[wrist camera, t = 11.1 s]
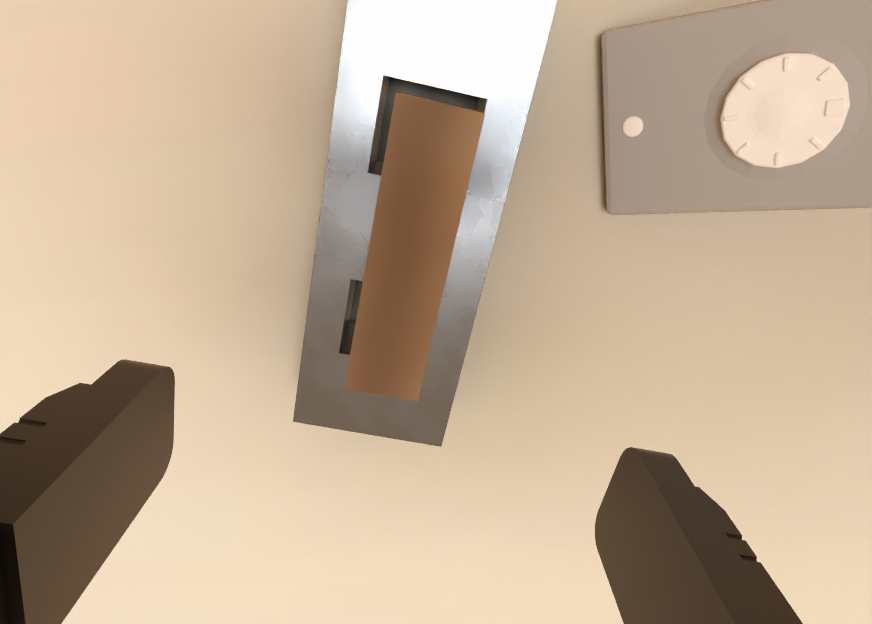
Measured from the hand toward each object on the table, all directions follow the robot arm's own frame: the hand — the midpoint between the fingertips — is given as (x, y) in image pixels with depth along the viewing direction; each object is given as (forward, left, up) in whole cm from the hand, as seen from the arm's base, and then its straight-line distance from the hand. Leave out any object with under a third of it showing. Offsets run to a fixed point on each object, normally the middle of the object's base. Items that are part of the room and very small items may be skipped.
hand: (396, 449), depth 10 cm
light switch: (-14, -8, -20) cm, 26 cm away
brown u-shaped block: (0, 0, -20) cm, 20 cm away
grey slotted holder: (0, 0, -20) cm, 20 cm away
